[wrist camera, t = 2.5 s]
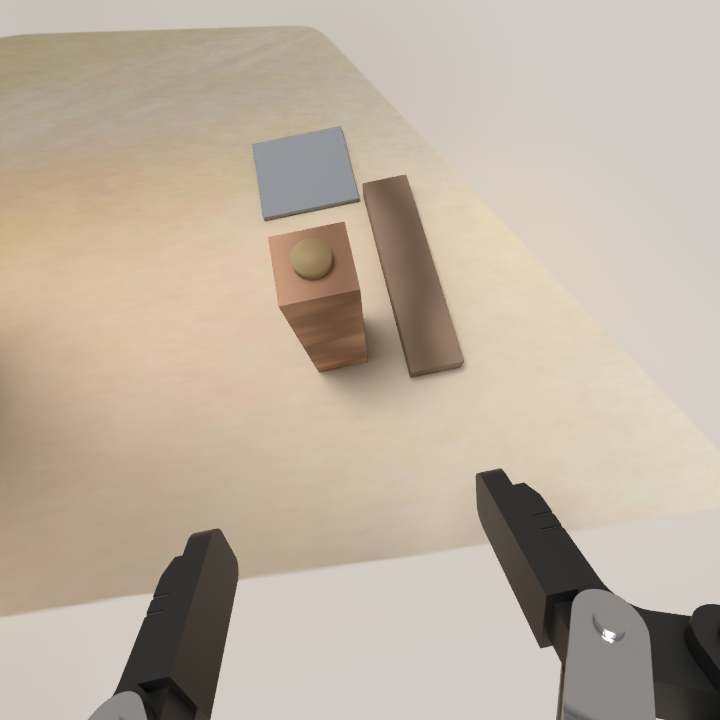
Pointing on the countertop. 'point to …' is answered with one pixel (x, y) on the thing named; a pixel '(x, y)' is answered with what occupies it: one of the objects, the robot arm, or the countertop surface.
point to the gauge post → (320, 294)
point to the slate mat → (304, 173)
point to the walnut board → (411, 278)
